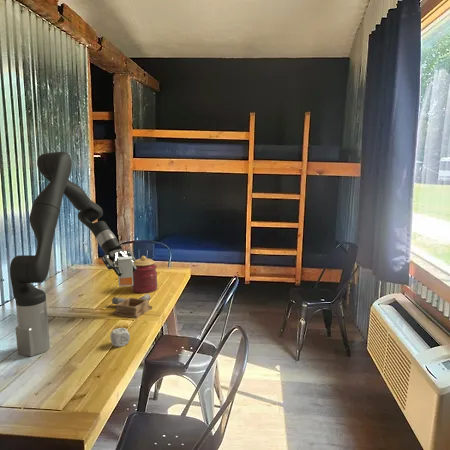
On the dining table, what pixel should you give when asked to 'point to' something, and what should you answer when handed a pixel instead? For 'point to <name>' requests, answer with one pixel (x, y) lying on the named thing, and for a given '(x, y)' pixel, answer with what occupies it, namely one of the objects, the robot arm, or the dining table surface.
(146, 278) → the canister
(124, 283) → the skincare box
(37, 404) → the dining table surface
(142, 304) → the block
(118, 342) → the die
